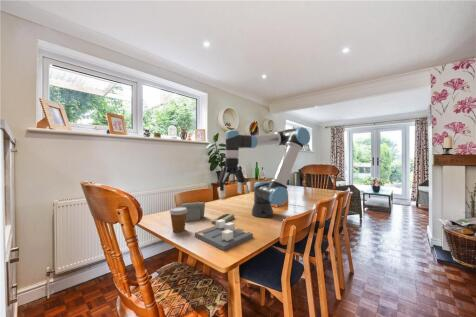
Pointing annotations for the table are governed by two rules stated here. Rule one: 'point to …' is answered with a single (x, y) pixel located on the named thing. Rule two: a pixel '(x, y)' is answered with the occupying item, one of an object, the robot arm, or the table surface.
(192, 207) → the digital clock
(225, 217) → the olive shallow tray
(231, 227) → the tab
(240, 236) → the switch bank
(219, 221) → the tab
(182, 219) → the disposable coffee cup
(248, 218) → the table surface
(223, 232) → the tab
